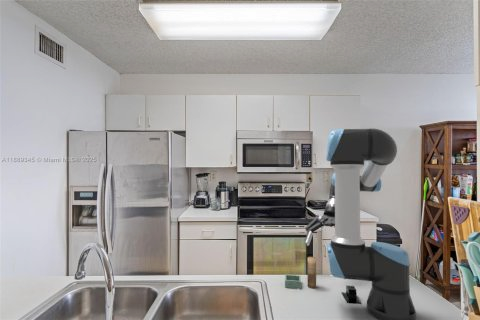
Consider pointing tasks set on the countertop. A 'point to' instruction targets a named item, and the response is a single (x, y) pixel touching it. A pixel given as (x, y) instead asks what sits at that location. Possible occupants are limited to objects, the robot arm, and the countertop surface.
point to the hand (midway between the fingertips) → (320, 246)
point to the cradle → (293, 281)
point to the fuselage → (311, 272)
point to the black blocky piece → (351, 295)
